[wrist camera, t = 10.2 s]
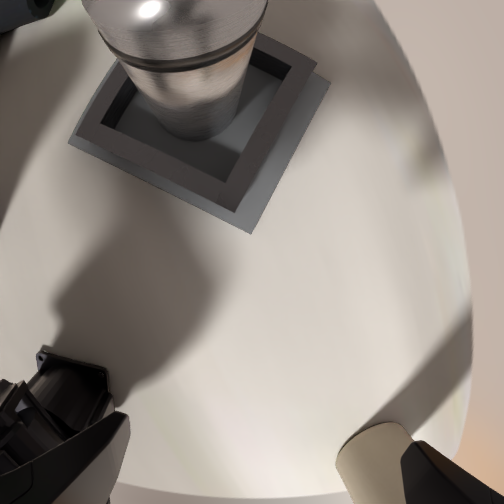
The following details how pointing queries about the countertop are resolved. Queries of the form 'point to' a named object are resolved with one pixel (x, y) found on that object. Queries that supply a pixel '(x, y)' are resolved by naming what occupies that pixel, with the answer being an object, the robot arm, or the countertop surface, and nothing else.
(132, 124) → the grey flat square frame
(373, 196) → the countertop surface
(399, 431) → the travel mug
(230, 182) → the iron collar
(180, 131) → the silver metal tumbler
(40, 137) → the countertop surface
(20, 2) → the pipe connector
